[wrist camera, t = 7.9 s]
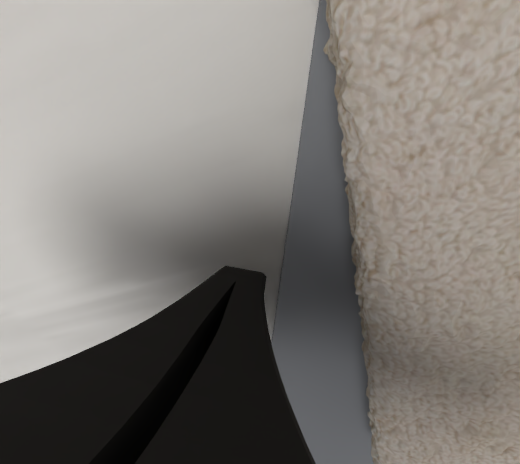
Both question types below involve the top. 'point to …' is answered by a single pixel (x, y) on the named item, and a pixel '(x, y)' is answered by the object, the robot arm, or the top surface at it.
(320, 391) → the placemat
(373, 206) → the washcloth
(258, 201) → the top surface
